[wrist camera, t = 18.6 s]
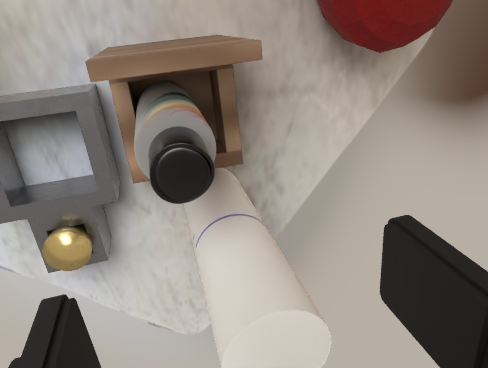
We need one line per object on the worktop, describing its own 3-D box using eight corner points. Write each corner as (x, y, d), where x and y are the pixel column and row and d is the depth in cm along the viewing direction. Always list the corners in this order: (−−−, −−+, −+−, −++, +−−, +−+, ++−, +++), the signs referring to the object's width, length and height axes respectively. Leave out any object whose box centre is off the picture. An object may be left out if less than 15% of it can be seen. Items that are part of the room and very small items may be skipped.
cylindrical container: (250, 178, 46) (351, 323, 24) (225, 227, 48) (297, 404, 25) (197, 157, 43) (255, 298, 21) (172, 209, 45) (201, 391, 23)
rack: (107, 47, 37) (85, 61, 22) (217, 34, 39) (260, 40, 24) (134, 163, 42) (130, 235, 27) (230, 146, 44) (273, 205, 29)
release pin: (49, 210, 40) (36, 237, 35) (91, 202, 41) (84, 227, 36) (61, 244, 42) (50, 275, 37) (102, 236, 43) (96, 265, 38)
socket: (-25, 99, 36) (-49, 109, 31) (94, 83, 38) (88, 91, 33) (35, 252, 43) (22, 278, 38) (133, 232, 45) (131, 254, 40)
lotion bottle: (165, 145, 41) (182, 238, 23) (124, 106, 38) (109, 178, 20) (203, 109, 40) (251, 176, 22) (165, 68, 38) (185, 106, 20)
